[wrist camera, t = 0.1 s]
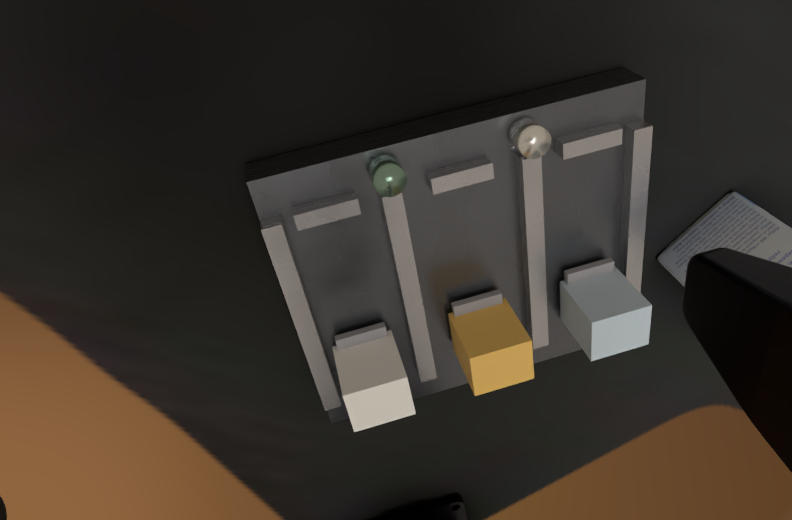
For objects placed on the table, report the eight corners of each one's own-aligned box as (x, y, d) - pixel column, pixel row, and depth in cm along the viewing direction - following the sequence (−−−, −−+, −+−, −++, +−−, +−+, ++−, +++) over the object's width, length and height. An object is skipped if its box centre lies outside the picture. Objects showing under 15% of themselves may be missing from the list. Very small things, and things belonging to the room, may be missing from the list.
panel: (612, 315, 29) (641, 349, 27) (327, 398, 28) (334, 441, 26) (623, 66, 22) (663, 87, 20) (245, 163, 21) (247, 196, 19)
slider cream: (401, 374, 26) (417, 422, 23) (346, 390, 25) (356, 440, 23) (388, 320, 24) (405, 367, 22) (329, 337, 24) (339, 386, 21)
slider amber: (508, 342, 26) (534, 387, 24) (455, 358, 26) (475, 405, 24) (504, 287, 24) (531, 330, 22) (446, 303, 24) (467, 349, 22)
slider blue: (612, 312, 26) (647, 353, 24) (560, 327, 26) (591, 370, 24) (615, 256, 25) (652, 294, 22) (559, 271, 24) (592, 312, 22)
